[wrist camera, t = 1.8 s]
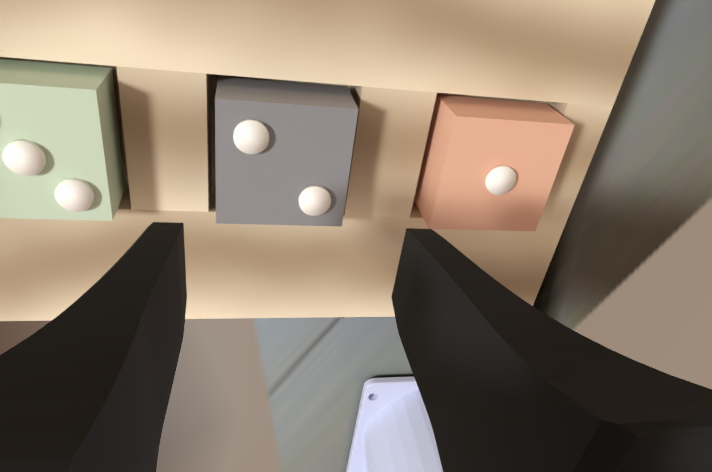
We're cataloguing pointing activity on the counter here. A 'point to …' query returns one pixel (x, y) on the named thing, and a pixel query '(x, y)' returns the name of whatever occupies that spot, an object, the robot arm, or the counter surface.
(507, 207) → the terracotta tile
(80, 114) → the sage tile
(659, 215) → the counter surface
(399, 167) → the tile panel
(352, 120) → the charcoal tile
